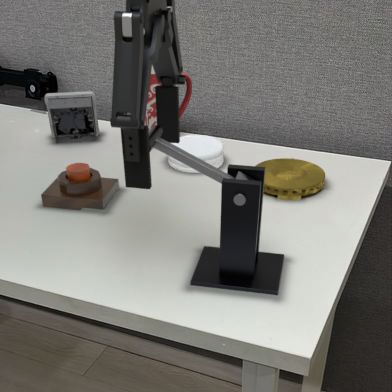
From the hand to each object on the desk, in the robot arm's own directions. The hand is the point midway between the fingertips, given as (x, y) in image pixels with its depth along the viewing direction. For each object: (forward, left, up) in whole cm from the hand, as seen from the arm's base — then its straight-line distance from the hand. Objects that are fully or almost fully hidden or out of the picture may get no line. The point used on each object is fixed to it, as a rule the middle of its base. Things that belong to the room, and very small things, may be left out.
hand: (154, 162), depth 66 cm
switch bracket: (+11, 0, -14) cm, 18 cm away
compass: (+15, +29, -14) cm, 36 cm away
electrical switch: (-27, +41, -14) cm, 51 cm away
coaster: (-2, +35, -14) cm, 38 cm away
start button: (-17, +17, -11) cm, 27 cm away
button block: (-17, +17, -14) cm, 28 cm away
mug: (-11, +45, -14) cm, 49 cm away
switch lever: (+5, 0, -1) cm, 5 cm away
